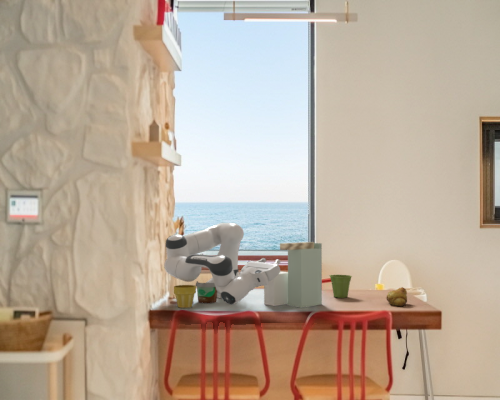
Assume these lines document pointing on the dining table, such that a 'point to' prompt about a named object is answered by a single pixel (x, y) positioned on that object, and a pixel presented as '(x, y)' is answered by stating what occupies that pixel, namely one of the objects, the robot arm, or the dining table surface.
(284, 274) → the block
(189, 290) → the plant pot
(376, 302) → the dining table surface
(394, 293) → the bread roll
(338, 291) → the plant pot
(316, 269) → the pale green block
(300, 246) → the rail
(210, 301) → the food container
